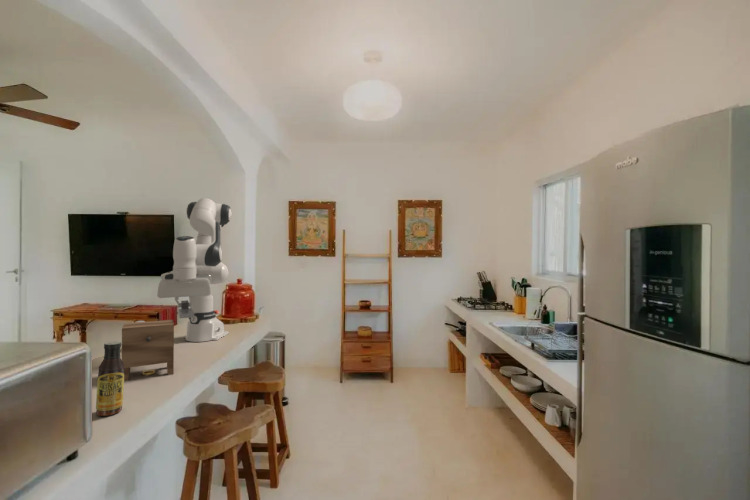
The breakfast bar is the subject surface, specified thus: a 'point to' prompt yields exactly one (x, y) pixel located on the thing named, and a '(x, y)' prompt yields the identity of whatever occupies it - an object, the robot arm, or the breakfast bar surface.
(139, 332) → the walnut cabinet
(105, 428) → the breakfast bar surface
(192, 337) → the robot arm
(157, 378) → the breakfast bar surface
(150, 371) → the brass disc
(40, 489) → the breakfast bar surface
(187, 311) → the scraper
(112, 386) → the sauce bottle
